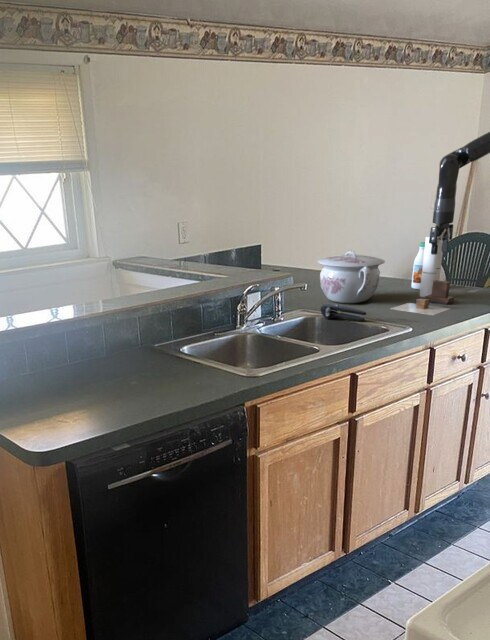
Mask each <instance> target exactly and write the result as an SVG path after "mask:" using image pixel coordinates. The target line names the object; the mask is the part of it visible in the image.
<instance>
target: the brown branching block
mask: <svg viewBox="0 0 490 640" xmlns="http://www.w3.org/2000/svg"><path fill="white" fill-rule="evenodd" d="M450 288H451V281H447V280H440V279H439V280H435V281H433V287H432V294H430V295H427V296H425V297H424V299H429V304H430V303H431V304H436V305H444V306H448V305H451V304H453V303H454V301H455V300H456V299H455V298H456V296H450Z"/></svg>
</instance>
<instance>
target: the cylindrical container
mask: <svg viewBox="0 0 490 640" xmlns="http://www.w3.org/2000/svg"><path fill="white" fill-rule="evenodd" d="M429 238H430V235H428V236H427V235H426V236H425V250H424V259H423V268H422V277H421V286H420V289H419V297H421V298H425V296H427V295H430V294H432V287H433V281H435V280H439V281H440V278H441V270H442V261H443V255H444V252H442V251H441V249H442V242H443V241H442V239H441V240H440V241H439V243H438V251H437V254H436V255H432V254H431V249H432V244H431V243H429ZM432 239H433V238H432Z"/></svg>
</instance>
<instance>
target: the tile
mask: <svg viewBox="0 0 490 640" xmlns="http://www.w3.org/2000/svg"><path fill="white" fill-rule="evenodd" d="M390 310H395V311H402V312H407V313H415V314H416V313H417V314H422V315H428V316H436V315H438V314H441V313H443V312H446V311H449V310H450V307H449V308H448V307H441V306H434V305H429V306H428V308H426V309H418V308H416V303H412V302H406V303H404V304H400V305H397V306H394V307H391V308H390Z"/></svg>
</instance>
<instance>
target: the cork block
mask: <svg viewBox="0 0 490 640" xmlns="http://www.w3.org/2000/svg"><path fill="white" fill-rule="evenodd" d="M415 304H416V308H418V309H426V308H428V306H430V305H429V304H430V303H429V299H425V298H424V297H420V298H417V299H416V303H415Z"/></svg>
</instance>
